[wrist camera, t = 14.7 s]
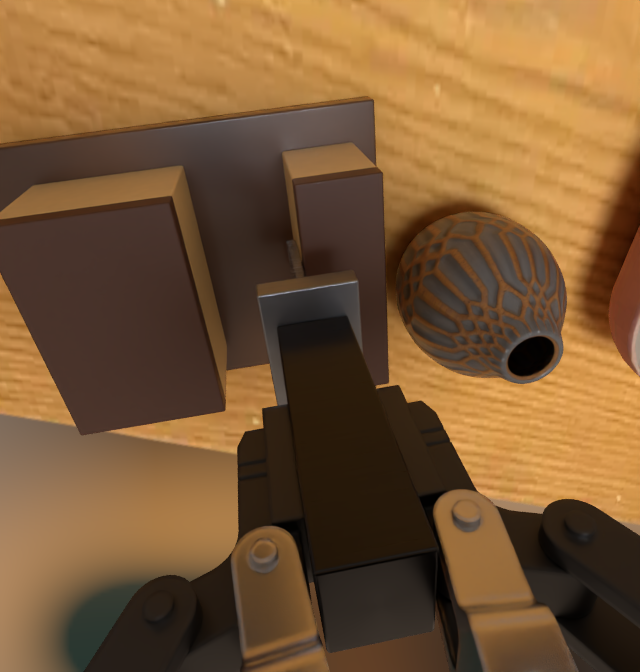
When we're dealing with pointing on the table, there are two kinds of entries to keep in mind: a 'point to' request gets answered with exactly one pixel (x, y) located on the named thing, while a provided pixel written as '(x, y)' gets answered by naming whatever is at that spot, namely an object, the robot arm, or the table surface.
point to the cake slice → (343, 231)
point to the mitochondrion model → (627, 308)
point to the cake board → (211, 189)
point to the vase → (483, 297)
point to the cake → (118, 297)
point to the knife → (347, 465)
